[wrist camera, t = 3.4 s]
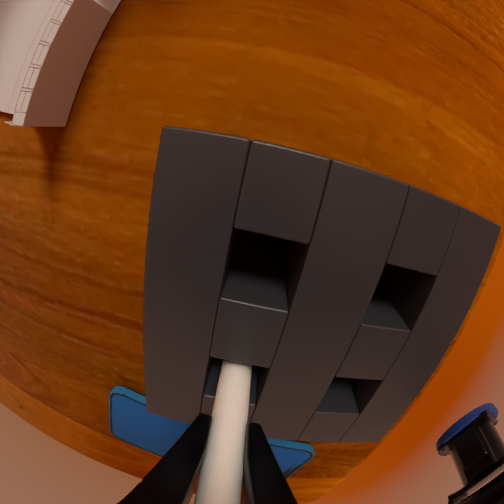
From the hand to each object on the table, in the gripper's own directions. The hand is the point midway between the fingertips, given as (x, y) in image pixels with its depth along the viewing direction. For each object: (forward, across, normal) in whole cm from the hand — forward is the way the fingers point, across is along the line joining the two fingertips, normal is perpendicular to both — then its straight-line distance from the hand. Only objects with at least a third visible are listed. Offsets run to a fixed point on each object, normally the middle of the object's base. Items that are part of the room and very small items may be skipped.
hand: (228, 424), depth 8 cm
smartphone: (+6, +1, +12) cm, 13 cm away
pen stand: (+6, -2, -2) cm, 7 cm away
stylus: (+6, 0, 0) cm, 6 cm away
